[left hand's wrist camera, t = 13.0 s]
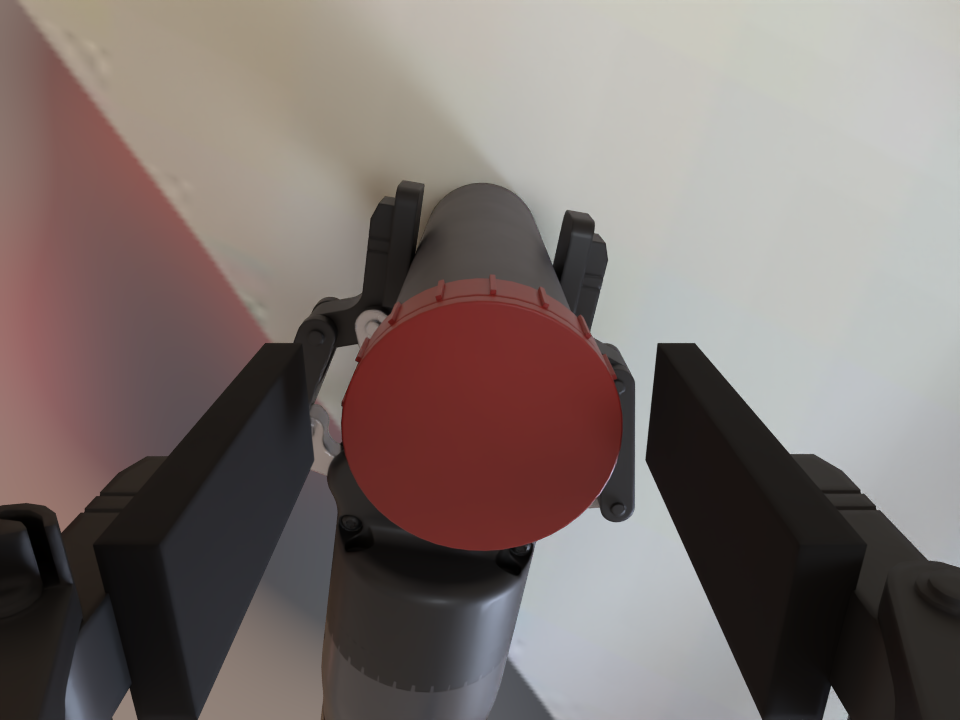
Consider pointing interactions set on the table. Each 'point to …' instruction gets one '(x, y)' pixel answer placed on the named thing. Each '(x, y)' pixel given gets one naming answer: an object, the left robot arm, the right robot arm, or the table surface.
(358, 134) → the table surface
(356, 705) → the right robot arm
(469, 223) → the jar
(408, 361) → the lid
